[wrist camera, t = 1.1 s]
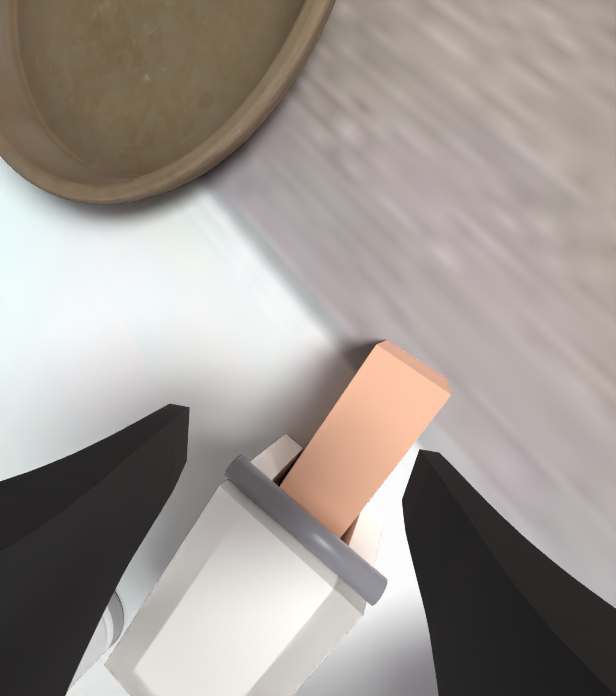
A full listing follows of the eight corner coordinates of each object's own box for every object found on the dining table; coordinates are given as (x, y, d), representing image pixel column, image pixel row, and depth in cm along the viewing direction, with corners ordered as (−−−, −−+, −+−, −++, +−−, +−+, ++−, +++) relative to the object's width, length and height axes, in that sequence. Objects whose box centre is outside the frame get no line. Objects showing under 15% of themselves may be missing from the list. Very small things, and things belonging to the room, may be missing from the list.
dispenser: (399, 503, 22) (384, 599, 14) (277, 651, 25) (213, 792, 18) (292, 418, 24) (228, 463, 16) (192, 567, 27) (101, 662, 20)
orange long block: (446, 378, 21) (451, 394, 16) (303, 565, 24) (273, 624, 20) (387, 339, 22) (376, 344, 17) (259, 525, 25) (220, 572, 21)
